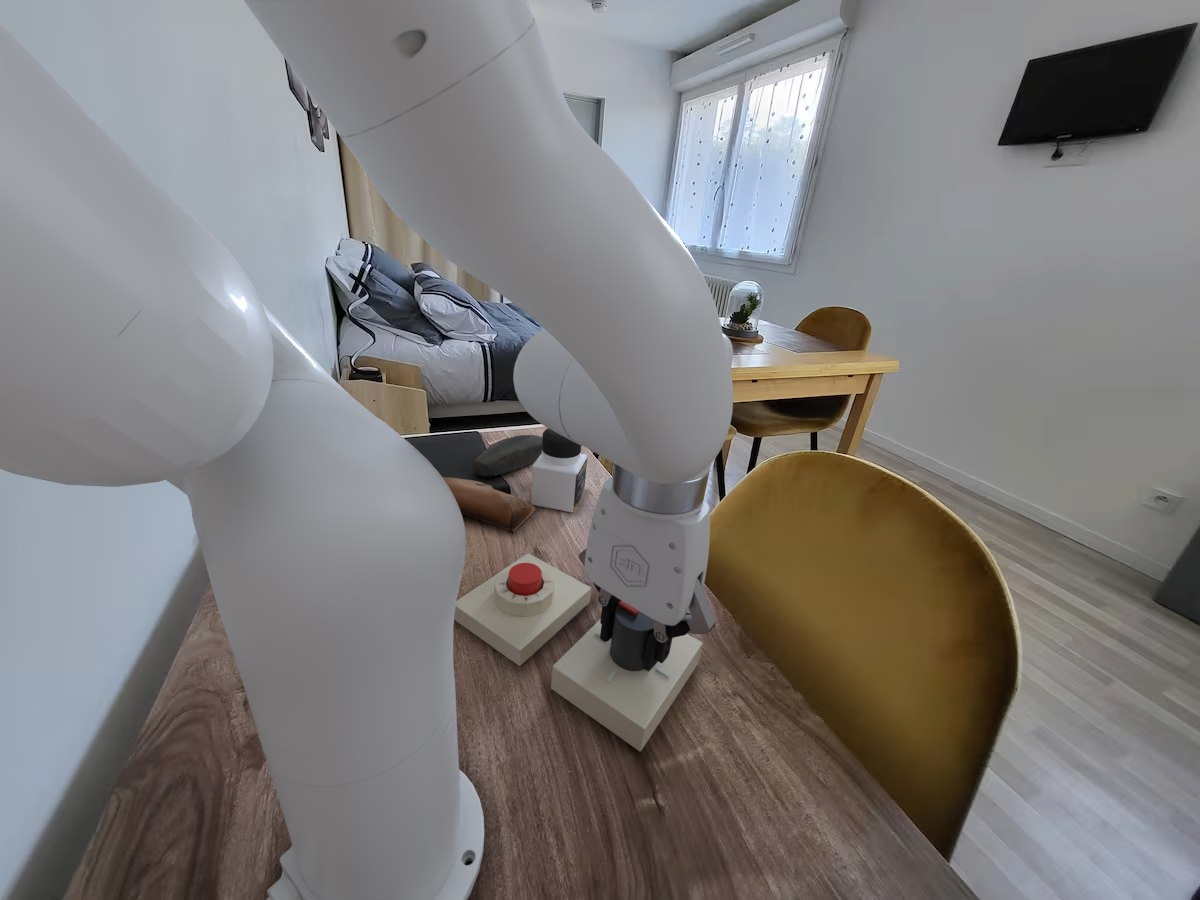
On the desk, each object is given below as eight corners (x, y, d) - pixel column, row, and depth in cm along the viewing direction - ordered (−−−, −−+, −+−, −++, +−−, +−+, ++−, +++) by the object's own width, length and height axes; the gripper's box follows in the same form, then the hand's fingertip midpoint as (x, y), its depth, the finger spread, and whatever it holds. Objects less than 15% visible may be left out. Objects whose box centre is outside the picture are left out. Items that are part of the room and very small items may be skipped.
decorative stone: (525, 443, 97) (526, 424, 95) (552, 452, 94) (553, 433, 93) (465, 474, 83) (464, 452, 81) (494, 486, 80) (495, 463, 79)
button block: (519, 666, 48) (520, 636, 47) (452, 619, 53) (451, 590, 51) (590, 602, 57) (593, 575, 56) (527, 566, 62) (528, 541, 61)
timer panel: (640, 752, 41) (645, 727, 40) (550, 688, 46) (552, 664, 45) (698, 663, 51) (703, 641, 49) (618, 618, 55) (621, 596, 54)
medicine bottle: (574, 513, 75) (579, 443, 70) (529, 505, 76) (532, 435, 71) (584, 492, 81) (590, 426, 76) (543, 484, 82) (547, 419, 77)
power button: (525, 601, 52) (526, 588, 51) (501, 586, 53) (501, 573, 53) (547, 584, 54) (548, 571, 54) (524, 570, 56) (524, 558, 55)
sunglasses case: (539, 505, 75) (530, 482, 70) (519, 545, 71) (508, 523, 66) (442, 477, 80) (427, 453, 75) (419, 513, 77) (401, 490, 71)
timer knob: (660, 652, 48) (668, 610, 45) (637, 679, 44) (644, 636, 42) (626, 630, 50) (632, 589, 48) (601, 654, 47) (606, 612, 45)
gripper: (551, 459, 41) (542, 623, 49) (737, 543, 32) (690, 728, 40) (605, 436, 47) (589, 586, 54) (776, 503, 38) (729, 672, 45)
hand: (632, 645), depth 47 cm, fingers closed on timer knob, 4 cm apart
